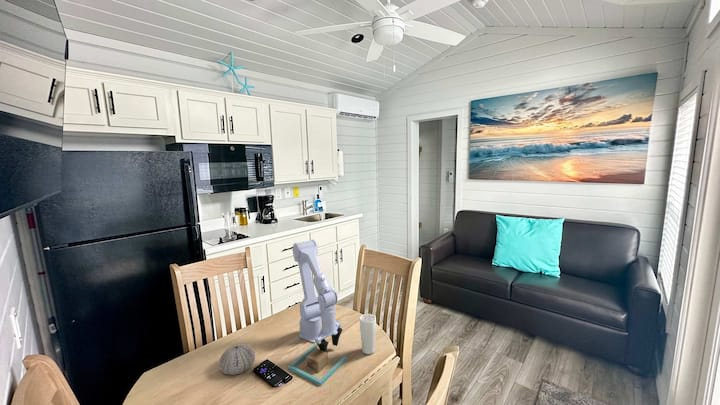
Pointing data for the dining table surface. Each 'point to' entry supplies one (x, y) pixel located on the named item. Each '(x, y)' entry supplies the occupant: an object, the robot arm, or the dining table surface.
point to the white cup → (368, 333)
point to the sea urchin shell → (237, 359)
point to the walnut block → (317, 360)
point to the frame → (308, 376)
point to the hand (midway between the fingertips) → (329, 350)
